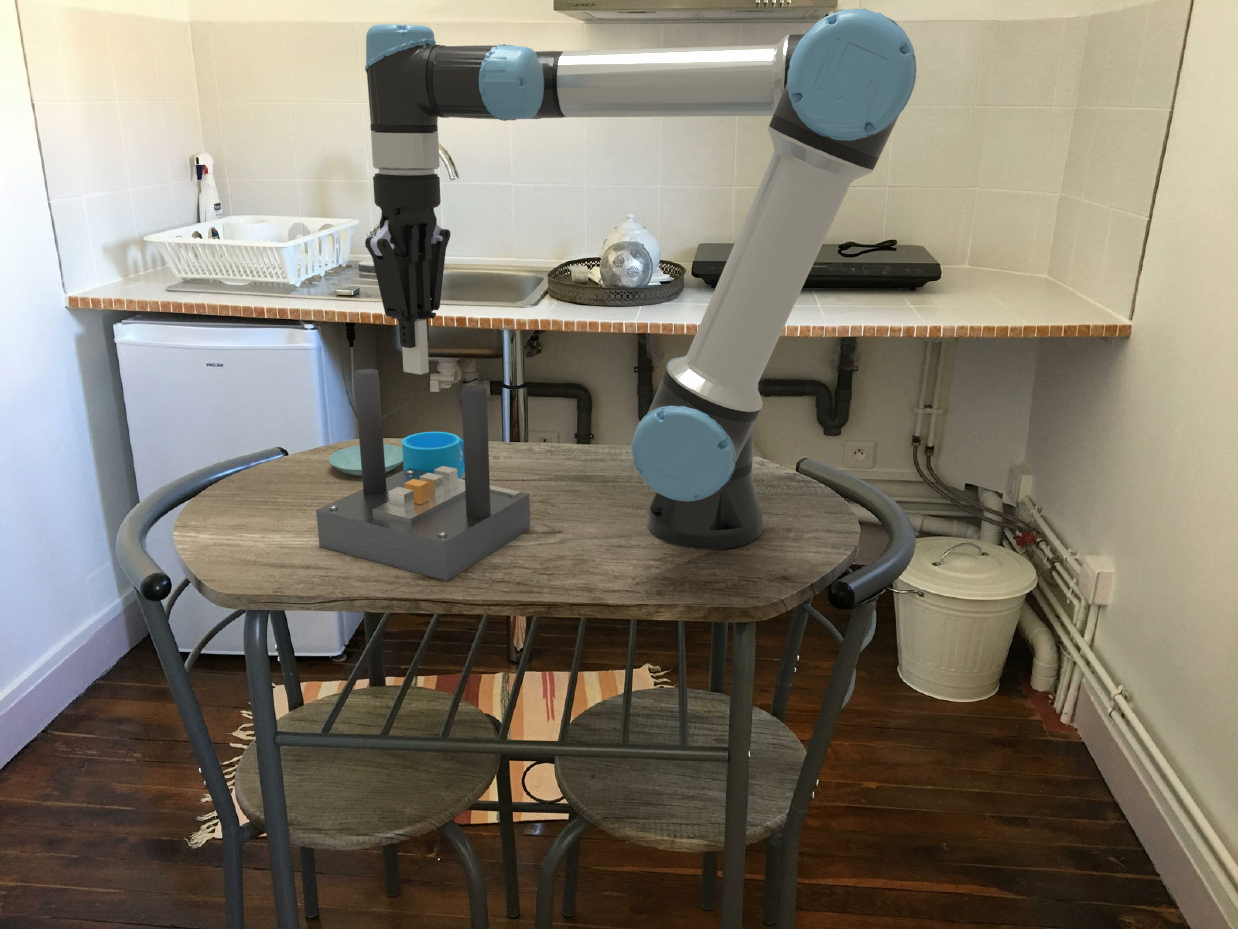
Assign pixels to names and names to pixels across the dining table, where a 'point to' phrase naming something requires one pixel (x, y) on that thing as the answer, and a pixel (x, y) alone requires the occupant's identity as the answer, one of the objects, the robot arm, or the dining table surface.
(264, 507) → the dining table surface
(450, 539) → the breaker panel
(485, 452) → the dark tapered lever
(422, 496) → the orange cube
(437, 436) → the mug
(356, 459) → the saucer
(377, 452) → the dark grey upright post
